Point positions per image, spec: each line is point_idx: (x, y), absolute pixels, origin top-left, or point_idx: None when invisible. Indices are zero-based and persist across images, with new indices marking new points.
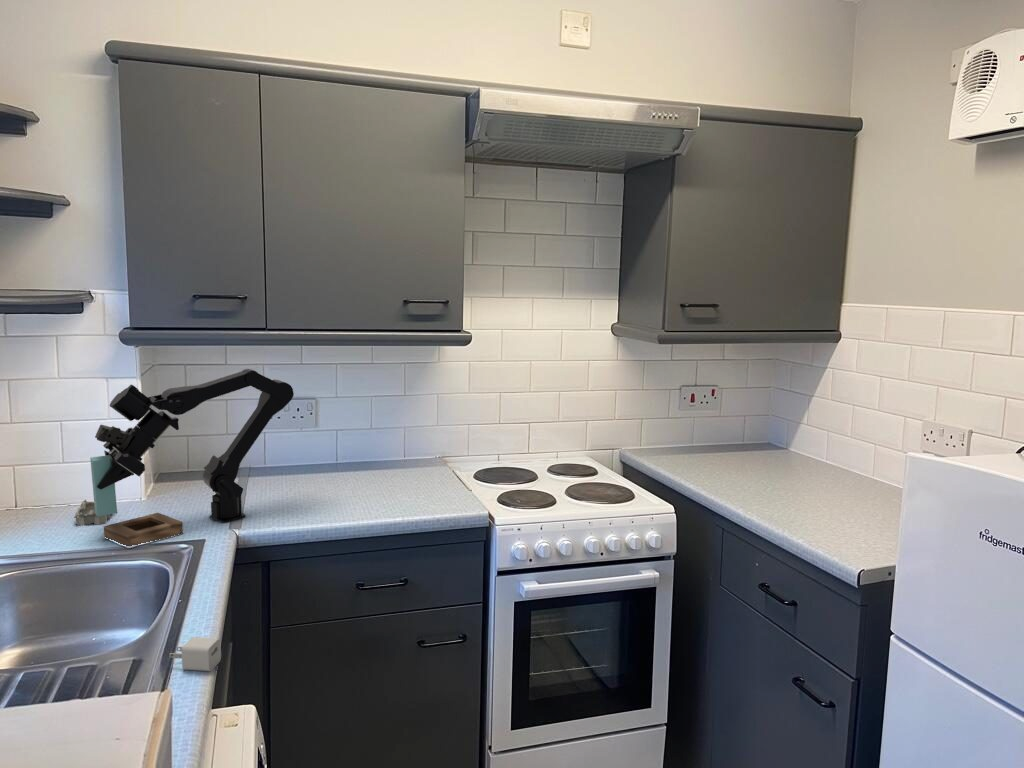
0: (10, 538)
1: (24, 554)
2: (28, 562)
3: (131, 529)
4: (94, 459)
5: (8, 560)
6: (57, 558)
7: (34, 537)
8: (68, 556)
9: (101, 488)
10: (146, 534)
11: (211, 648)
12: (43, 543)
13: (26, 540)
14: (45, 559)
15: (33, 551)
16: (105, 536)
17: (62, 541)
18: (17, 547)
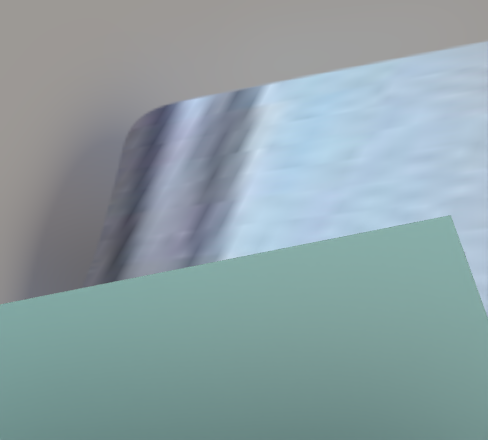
0: (467, 50)
1: (245, 129)
2: (152, 155)
3: None
4: (115, 350)
5: (205, 96)
6: (145, 239)
7: (452, 125)
8: (147, 274)
9: None
10: None
11: None
12: (354, 168)
13: (419, 105)
14: (155, 201)
15: (267, 150)
16: None
17: (353, 234)
18: (339, 93)
